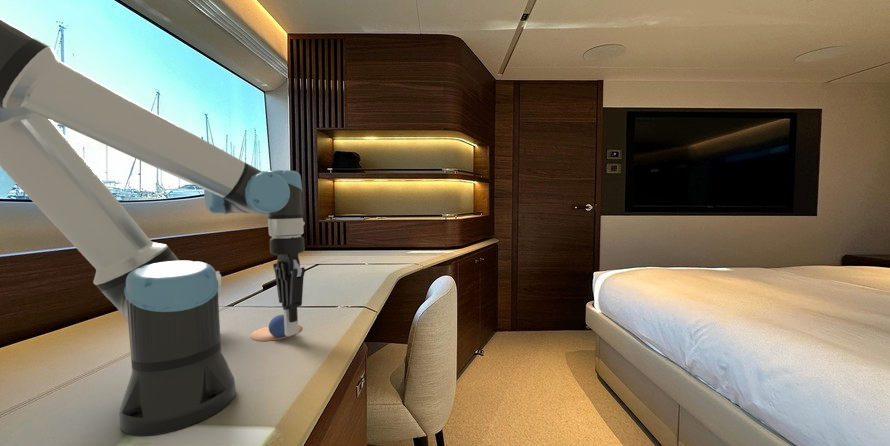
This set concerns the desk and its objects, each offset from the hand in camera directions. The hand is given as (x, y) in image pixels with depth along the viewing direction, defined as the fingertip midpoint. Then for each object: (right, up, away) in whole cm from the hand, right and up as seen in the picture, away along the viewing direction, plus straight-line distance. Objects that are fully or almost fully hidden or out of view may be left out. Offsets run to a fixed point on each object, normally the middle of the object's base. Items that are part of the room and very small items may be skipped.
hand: (291, 333), depth 85 cm
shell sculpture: (-26, -2, +6) cm, 26 cm away
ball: (-4, +1, +3) cm, 5 cm away
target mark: (-7, -2, +7) cm, 10 cm away
